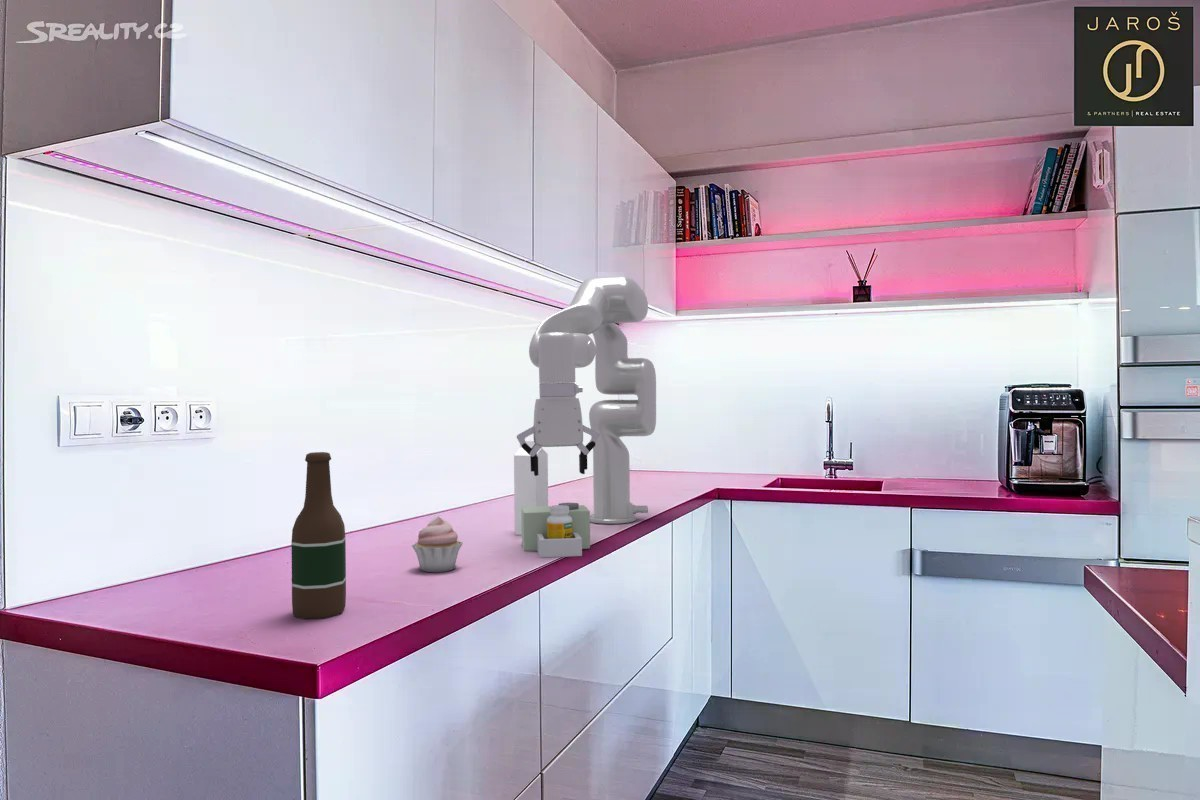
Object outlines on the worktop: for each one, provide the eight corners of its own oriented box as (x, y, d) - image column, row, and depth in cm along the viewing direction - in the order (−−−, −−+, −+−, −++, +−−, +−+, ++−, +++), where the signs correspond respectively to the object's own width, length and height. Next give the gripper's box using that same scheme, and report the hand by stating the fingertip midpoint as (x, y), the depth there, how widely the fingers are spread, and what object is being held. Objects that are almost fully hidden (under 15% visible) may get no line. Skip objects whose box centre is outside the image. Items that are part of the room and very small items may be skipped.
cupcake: (429, 577, 137) (428, 521, 137) (403, 569, 143) (402, 516, 143) (472, 569, 143) (472, 515, 143) (445, 561, 150) (445, 511, 150)
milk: (527, 531, 185) (526, 440, 185) (549, 532, 182) (548, 440, 183) (514, 535, 179) (513, 441, 180) (536, 536, 177) (535, 441, 177)
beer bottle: (339, 603, 119) (338, 450, 120) (352, 614, 113) (351, 452, 113) (287, 610, 115) (285, 452, 115) (297, 623, 109) (295, 455, 109)
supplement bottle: (553, 549, 161) (552, 504, 161) (576, 550, 159) (576, 505, 159) (542, 554, 156) (542, 507, 156) (566, 555, 154) (566, 508, 154)
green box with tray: (584, 540, 171) (583, 500, 171) (595, 555, 155) (595, 511, 155) (521, 543, 169) (521, 502, 169) (526, 558, 152) (525, 513, 152)
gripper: (596, 391, 163) (597, 470, 163) (514, 392, 160) (516, 473, 161) (601, 391, 155) (603, 474, 156) (516, 393, 153) (518, 478, 153)
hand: (559, 474), depth 158 cm, fingers open, 9 cm apart
